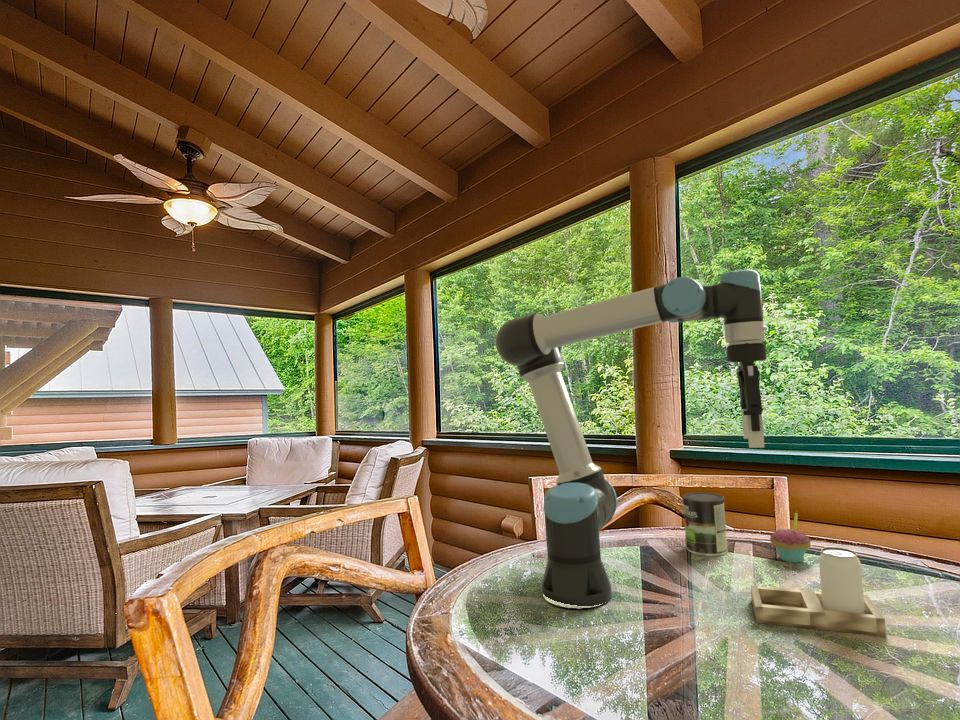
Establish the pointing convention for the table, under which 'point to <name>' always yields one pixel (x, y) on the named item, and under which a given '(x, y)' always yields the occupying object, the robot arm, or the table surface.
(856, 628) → the tan two-compartment tray
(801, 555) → the cupcake
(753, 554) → the table surface
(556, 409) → the robot arm
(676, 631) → the table surface
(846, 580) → the can
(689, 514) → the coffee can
